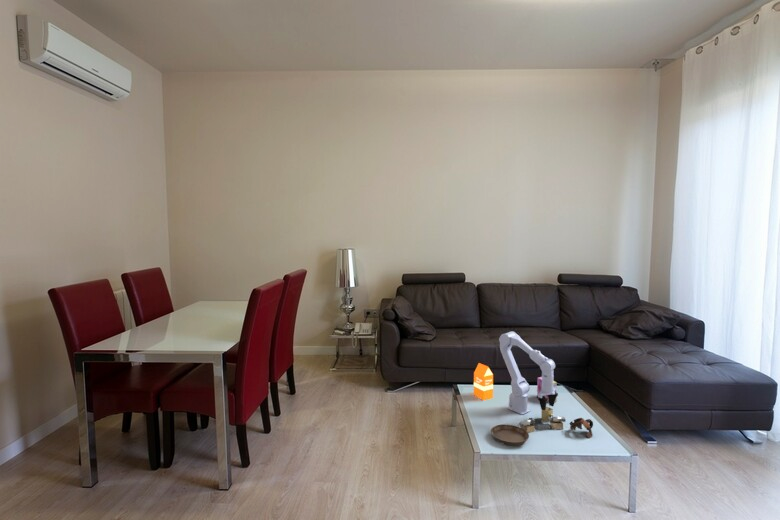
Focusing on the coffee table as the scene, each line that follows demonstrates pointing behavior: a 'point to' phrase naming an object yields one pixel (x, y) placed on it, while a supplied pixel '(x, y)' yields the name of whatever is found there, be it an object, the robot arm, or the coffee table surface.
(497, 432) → the plant saucer
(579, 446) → the coffee table surface
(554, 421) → the shaft
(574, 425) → the pottery mug
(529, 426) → the shaft
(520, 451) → the coffee table surface
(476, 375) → the orange juice
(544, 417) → the block
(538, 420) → the cradle
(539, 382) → the box
